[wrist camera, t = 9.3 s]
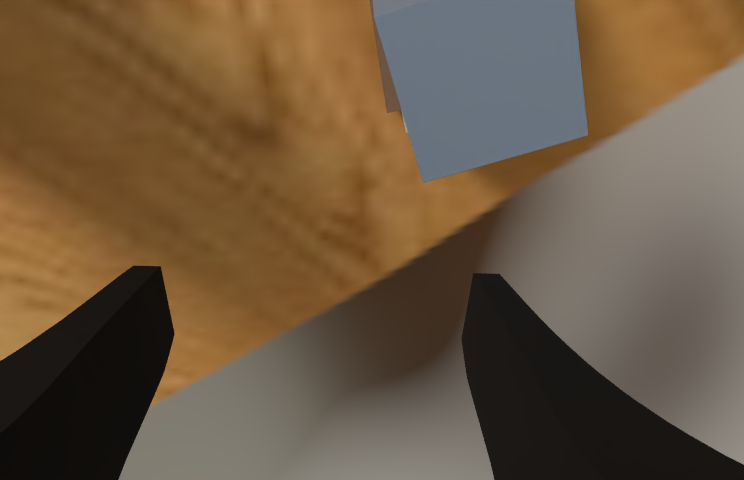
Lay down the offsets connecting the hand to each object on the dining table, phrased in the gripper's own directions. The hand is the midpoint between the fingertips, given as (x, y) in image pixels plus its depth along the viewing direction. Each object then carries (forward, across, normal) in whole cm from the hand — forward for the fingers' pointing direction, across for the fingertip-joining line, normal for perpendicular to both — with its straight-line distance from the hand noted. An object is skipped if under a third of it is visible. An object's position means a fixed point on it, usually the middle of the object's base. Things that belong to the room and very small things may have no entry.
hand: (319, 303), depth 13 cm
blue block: (+6, -4, -5) cm, 9 cm away
